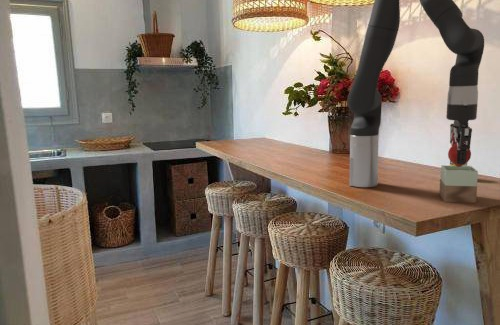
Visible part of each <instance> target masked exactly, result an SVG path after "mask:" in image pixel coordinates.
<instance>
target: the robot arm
mask: <svg viewBox="0 0 500 325" xmlns="http://www.w3.org/2000/svg"><path fill="white" fill-rule="evenodd" d="M419 2H420V6H421V7H422V8H423V11H424V12H425V14H426V15H427V17H428V18H429V20H430V21H431V22H432V23H433V25H434V26H435V27H436V29H438V31H439V35H440V36H441V39H442V40H443V43H444V44H445V46H446V48H448V50H450V51H451V52H452V53H453V54H455V55H456V59H455V64H454V65H452V67H450V72H449V81H448V82H449V83H448V84H449V85H448V91H447V99H446V101H447V103H446V115H445V116H446V119H447V120H448V121H453V123H451V124H450V125H449V128H450V134H449V135H450V137H449V138H450V139H449V144H450V145H451V146H450V147H452V146H453V145H454V144H456V143H457V150H458V151H457V163H458V164H465V163H466V155H467V151H468V150H469V149H470V150H471V142H472V133H473V129H472V128H471V127H470V126H469V122H470V121H475V120H476V119H477V117H478V116H477V115H478V114H477V113H478V100H479V89H478V88H479V87H478V85H479V68H480V65H481V62H482V58H483V54H484V51H485V50H484V49H485V36H484V34H483V33H482V31H481V30H479V29H477V28H471V27H470V26H469V25H468V24H467V23H466V21H465V19H464V18H463V16H464V15H463V12H462V11H461V9H460V7H459V6H458V5H457V3H455V1H454V0H419ZM400 9H401V7H400V0H373V5H372V10H371V13H370V18H369V20H368V24H367V27H366V32H365V34H364V35H365V36H364V41H363V45H362V49H361V53H360V57H359V62H358V66H357V69H356V70H357V71H356V74H355V75H354V79H353V81H352V84H351V86H350V90H349V91H348V92H349V93H348V95H347V99H346V100H347V107H348V109H349V111H351V113H352V114H353V120H352V123H351V126H350V129H349V187H356V188H357V187H358V188H374V187H377V186H378V184H379V183H378V180H379V179H378V178H379V176H378V175H379V142H380V141H379V140H380V139H379V138H380V137H379V133H380V127H381V123H382V103H383V102H382V95H381V92H380V91H379V90H378V88H377V87H378V83H379V79H380V75H381V73H382V71H383V68H384V66H385V65H386V62H387V61H388V60H389V57H390V56H391V54H392V51H393V49H394V47H395V43H396V40H397V36H398V31H399V29H400V25H401V24H400V23H401V10H400ZM462 143H464V144H465V145H462Z"/></svg>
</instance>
